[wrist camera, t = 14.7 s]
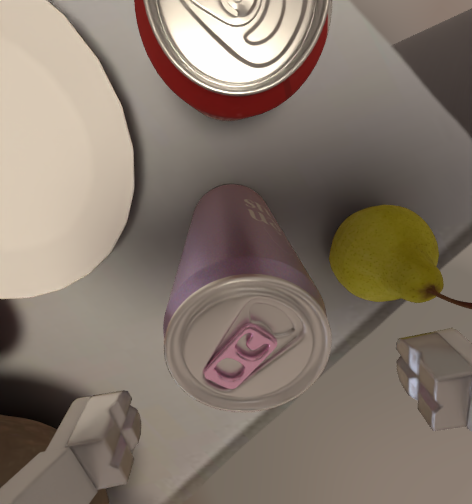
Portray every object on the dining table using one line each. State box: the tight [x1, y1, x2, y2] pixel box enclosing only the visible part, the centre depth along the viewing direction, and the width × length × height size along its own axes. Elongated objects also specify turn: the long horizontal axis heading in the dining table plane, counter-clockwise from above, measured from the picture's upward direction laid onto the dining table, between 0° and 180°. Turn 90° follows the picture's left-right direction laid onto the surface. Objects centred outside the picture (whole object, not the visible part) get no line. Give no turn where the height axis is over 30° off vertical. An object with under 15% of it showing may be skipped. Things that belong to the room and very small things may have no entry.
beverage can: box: [163, 184, 332, 412], centre depth 17 cm, size 6×6×15 cm
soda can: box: [134, 0, 332, 121], centre depth 14 cm, size 7×7×12 cm
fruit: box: [329, 205, 472, 309], centre depth 19 cm, size 7×7×12 cm
